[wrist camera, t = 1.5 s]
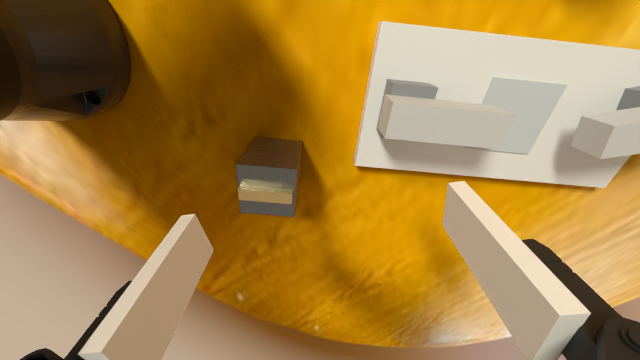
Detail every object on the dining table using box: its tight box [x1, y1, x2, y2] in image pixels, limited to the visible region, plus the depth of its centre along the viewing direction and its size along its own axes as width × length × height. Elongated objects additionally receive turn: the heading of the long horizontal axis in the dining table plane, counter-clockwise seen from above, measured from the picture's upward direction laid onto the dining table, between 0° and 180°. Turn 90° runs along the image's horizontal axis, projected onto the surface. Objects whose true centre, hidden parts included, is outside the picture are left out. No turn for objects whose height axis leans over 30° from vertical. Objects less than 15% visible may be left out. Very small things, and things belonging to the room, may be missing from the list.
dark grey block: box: [236, 137, 302, 217], centre depth 27 cm, size 6×6×8 cm
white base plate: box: [354, 21, 640, 188], centre depth 24 cm, size 30×14×7 cm, turn 85°
